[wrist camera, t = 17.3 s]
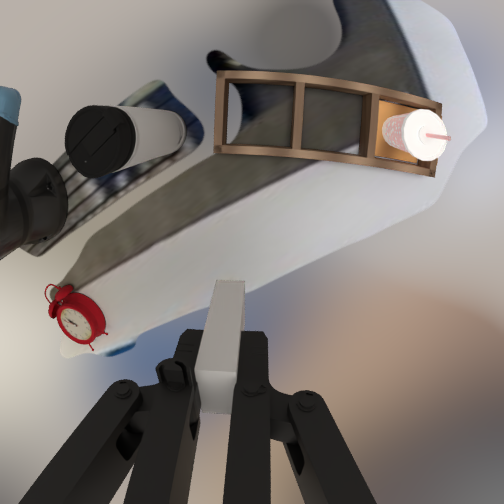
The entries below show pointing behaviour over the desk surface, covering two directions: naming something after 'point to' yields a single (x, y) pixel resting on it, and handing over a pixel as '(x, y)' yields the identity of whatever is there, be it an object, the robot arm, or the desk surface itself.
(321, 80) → the walnut rack
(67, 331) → the alarm clock
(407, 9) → the desk surface
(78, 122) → the travel mug
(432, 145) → the beverage cup
